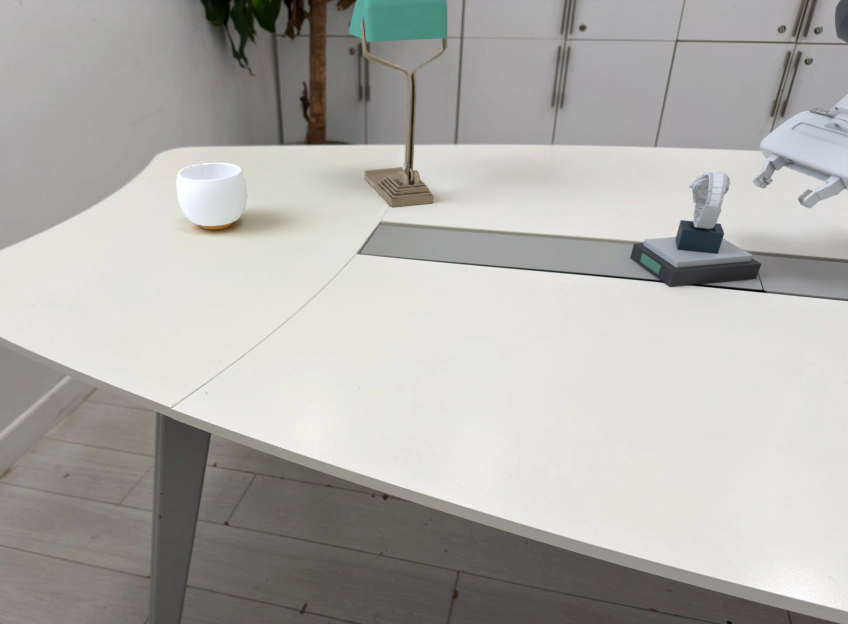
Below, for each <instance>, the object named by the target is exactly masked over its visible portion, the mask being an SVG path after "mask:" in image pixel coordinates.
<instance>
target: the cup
mask: <svg viewBox="0 0 848 624" xmlns="http://www.w3.org/2000/svg"><path fill="white" fill-rule="evenodd" d="M175 184H176V185H175V186H176V194H177V200H178V204H179V206H180V209H181V211H182V213H183V215H184V217H186V218H187V220H189V221H190V222H191V223H192V224H194V225H198V226H200V227H201V228H202V229H204V230H211V231H216V230H224V229H226V228H229V227H230V226H232V224H233V223H234V222H236V221H238V220H239V219H240V218H241V216H242V215H243V213H244V211H245V210H246V205H247V199H248V191H247V181H246V179H245V176H244V173H243V170H242V168H241V167H240V166H238V165H236V164H233V163H227V162H204V163H198V164H193V165H189V166H185V167H183V168H181V169H180V170H178V171H177V174H176V183H175Z"/></svg>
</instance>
